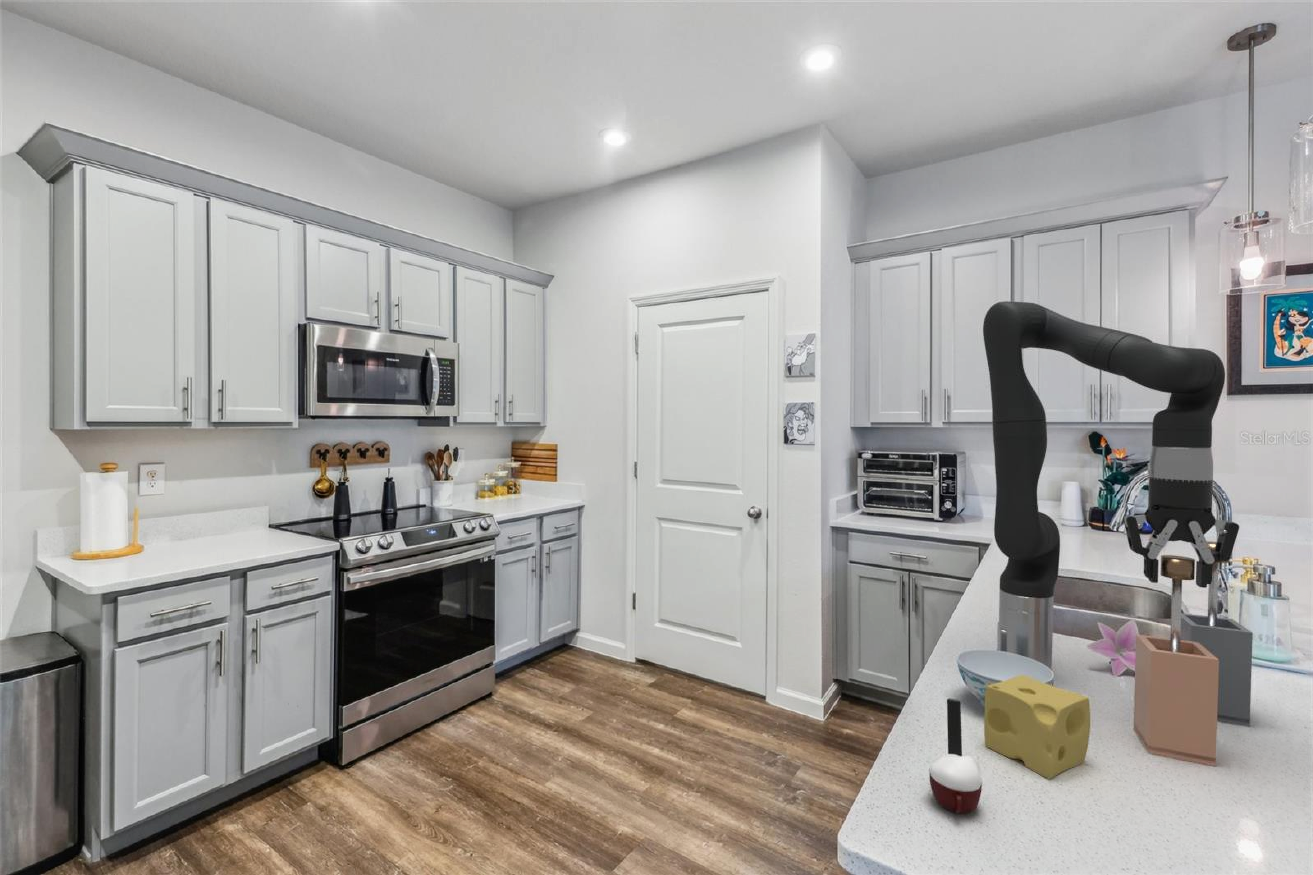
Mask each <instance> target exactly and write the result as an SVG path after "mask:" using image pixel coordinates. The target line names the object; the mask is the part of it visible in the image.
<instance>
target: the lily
mask: <svg viewBox="0 0 1313 875" xmlns="http://www.w3.org/2000/svg"><path fill="white" fill-rule="evenodd" d="M1097 625H1098V629H1099V631H1100V633H1101V635H1102V637H1103V638H1101V639H1098V640H1095V641H1093V642H1091V643H1089V644H1087V646H1086V648H1087V649H1088V650H1090V651H1092V652H1094V653H1097V654H1099V655H1102V656H1104V657H1106V658H1108V659H1110V660H1109V662H1108V663H1109V664H1110V665H1111V666H1110V667H1111V670H1112V671H1111V672H1112V676H1113V677H1115V678H1116V677H1119V676H1120V675H1121V674H1123V673H1124V672H1125V671H1126V670H1127V669H1128V668H1129V669H1131V670H1132V671H1134V672H1135V655H1136V634H1137V635H1140V633H1139V629H1138V624H1137V622H1136V621H1135V620H1134V619H1131V620H1129V621H1127V622H1126V623H1125V624H1124V625H1122V626H1121V627H1120V628H1119V629H1117V631H1116V630H1114V629H1112V628H1111V627H1110V626H1108V625H1106V624H1105V623H1101V622H1100V621H1099V622H1097Z"/></svg>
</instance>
